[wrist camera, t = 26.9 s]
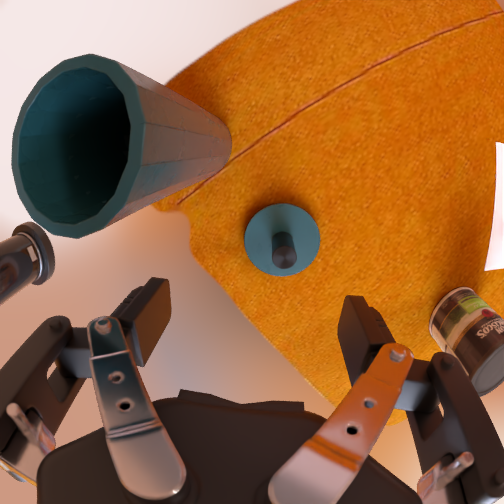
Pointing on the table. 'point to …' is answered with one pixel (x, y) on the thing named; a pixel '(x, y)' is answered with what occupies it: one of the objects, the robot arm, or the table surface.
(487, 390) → the coffee can
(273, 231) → the lid
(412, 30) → the table surface
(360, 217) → the table surface
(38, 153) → the tin
